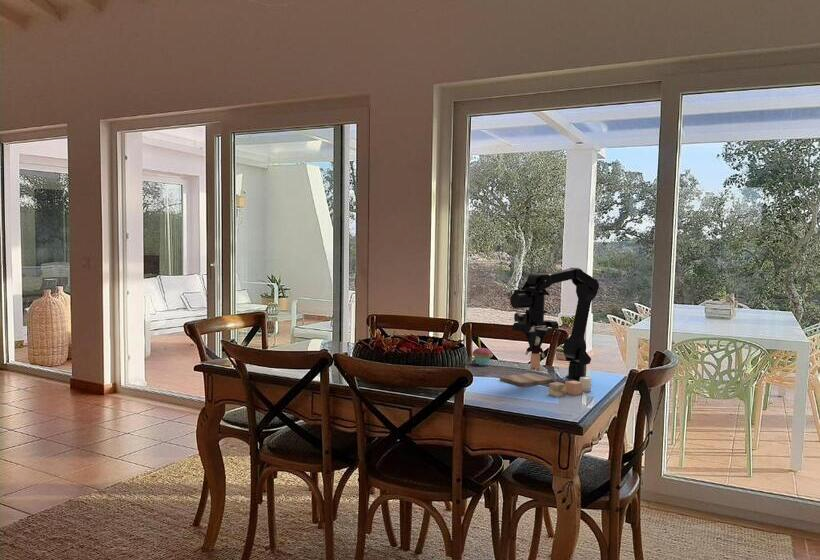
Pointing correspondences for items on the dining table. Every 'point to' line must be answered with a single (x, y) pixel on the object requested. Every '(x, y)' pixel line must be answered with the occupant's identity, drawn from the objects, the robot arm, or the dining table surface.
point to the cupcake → (482, 355)
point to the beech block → (557, 389)
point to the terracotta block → (573, 387)
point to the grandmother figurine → (535, 355)
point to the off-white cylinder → (586, 384)
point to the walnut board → (526, 379)
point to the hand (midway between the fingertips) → (535, 348)
